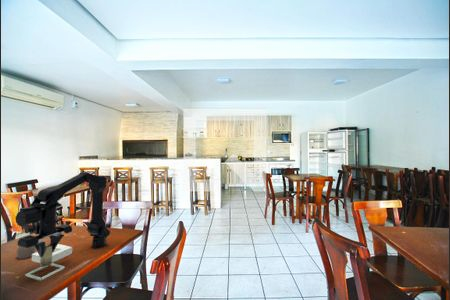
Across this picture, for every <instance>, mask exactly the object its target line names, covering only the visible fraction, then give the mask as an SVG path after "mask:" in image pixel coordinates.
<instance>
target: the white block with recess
mask: <svg viewBox="0 0 450 300" xmlns="http://www.w3.org/2000/svg"><path fill="white" fill-rule="evenodd" d="M72 254H73V247H72V246H69V245H64V244H60V243H58V245H57V246H56V248H55V250H54V252H53V253H52V263H53V264H54V263H55V262H58V261H59V260H61V259H63V258H65V257H67V256H70V255H72ZM31 262H34V263H38V264H40V256H39V254H38V252H37V251H35V253H33V254H32V257H31Z"/></svg>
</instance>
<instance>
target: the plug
mask: <svg viewBox="0 0 450 300" xmlns="http://www.w3.org/2000/svg"><path fill="white" fill-rule="evenodd" d="M52 250H53V244H50V243H45V248H44V254H43V257H40V263H39V264H40V265H39V267H45V266H47V267H49V266H51V264H52ZM45 268H46V267H45Z"/></svg>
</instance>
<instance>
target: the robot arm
mask: <svg viewBox="0 0 450 300" xmlns="http://www.w3.org/2000/svg"><path fill="white" fill-rule="evenodd" d="M83 183H88V188H89V189H90V191H91V194H92V195H91V220H90V221H89V222H87V229H86V231H87V232H88V233H89V236H90V237H92V243H91V249H96V250H97V249H99V248H104V247H105V246H109V243H107V239H108V237H109V236H110V234H111V230H110V229H108V228H107V224H106V221H105V219H104V217H103V213H104V211H103V207H104V205H103V203H104V202H103V199H104V198H103V195H104V191H105V189H106V188H107V177H106V176H104V175H96V174H92V173H90V172H85V171H83V172H82V171H81V172H80V173H78V174H77V175H75V176H73V177H71V178H69V179H66V180H65V181H63V182H61V183H59V184H57V185H54V186H49V187H46V188H43V189H41V190H39V191H38V193H37V195H36V197H35V198H34V199H33V200H32V202H31V203H30V205H29V206H28V207H21V208H19V212H17V213H16V215H15V223H16V225H17V226H19V227H24V230H23V231H24V234H29V235H25V236H23V237H20V238H18V240H17V246H18V247H19V246H21V247H25V248H29V247H32V246H34V247H35V248H36V252H38V254H39V256H40V257H43V254H44V248H45V244H46V241H43V239H46V238H48V237H49V239H50V243H49V244H53V250H52V253H53V252H54V250H55V248H56V246H57V245H58V244H60V242H61V241H62V239H63V237H65V234H69V233H72V232H73V227H72V225H69V224H61V225H57V223H59V220H58V219H57V208H58V207H62V206H63V205H62V204H61V203H60V202H59V201H60V200H61V199H62V198H64V196H65V194H66V193H68V192H70V191H71V190H74V189H75V188H76V187H79V186H80V185H81V184H83ZM35 223H36V225H33V224H35ZM63 233H65V234H63ZM33 234H34V235H35V236H34V235H33Z"/></svg>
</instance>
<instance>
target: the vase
mask: <svg viewBox="0 0 450 300" xmlns="http://www.w3.org/2000/svg"><path fill="white" fill-rule="evenodd" d="M36 252H37V250H36V248H35V247H34V246H32V247H29V248H25V247H21V246H18V247H17V249H16V257H17V258H18V259H19V260H26V259H30V258H32V254H33V253H36Z"/></svg>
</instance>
